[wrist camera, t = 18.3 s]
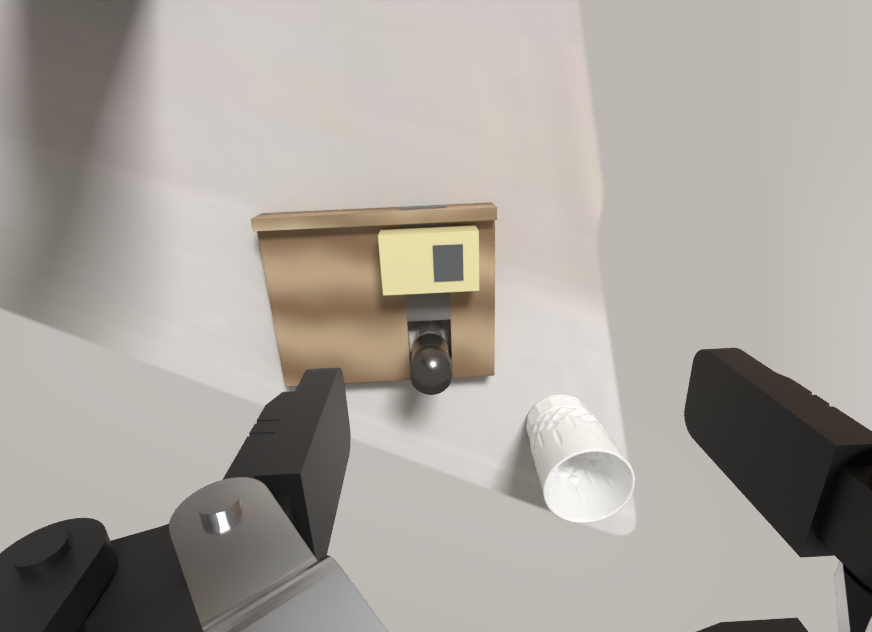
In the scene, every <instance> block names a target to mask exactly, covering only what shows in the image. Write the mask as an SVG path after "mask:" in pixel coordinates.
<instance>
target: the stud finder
mask: <svg viewBox="0 0 872 632" xmlns="http://www.w3.org/2000/svg"><path fill="white" fill-rule="evenodd" d="M378 243H379V254H380V266H381V277H382V289H383V296H384V295H404V294H424V293H444V292H464V291H479V230H478V229H477V227H476V225H468V226H447V227H426V228H405V229H384V230H380V232H379V234H378Z"/></svg>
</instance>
